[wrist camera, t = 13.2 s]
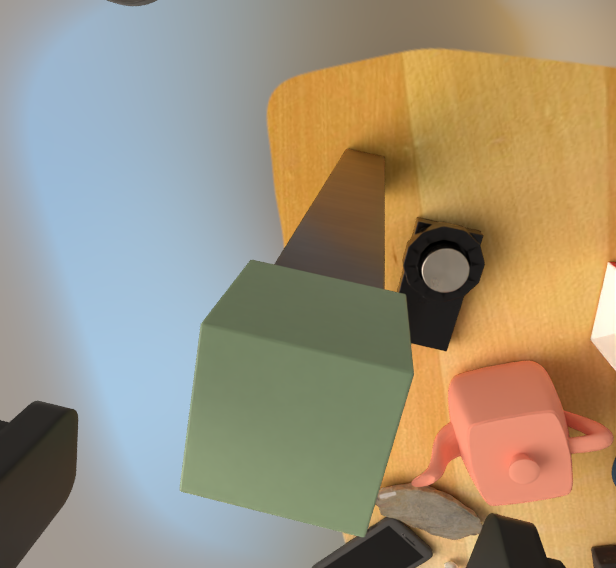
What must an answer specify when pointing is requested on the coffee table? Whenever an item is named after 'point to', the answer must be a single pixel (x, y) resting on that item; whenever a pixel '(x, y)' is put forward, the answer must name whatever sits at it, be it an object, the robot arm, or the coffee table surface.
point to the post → (344, 224)
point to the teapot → (512, 434)
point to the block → (298, 396)
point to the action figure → (450, 565)
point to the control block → (425, 301)
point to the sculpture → (604, 556)
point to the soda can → (614, 472)
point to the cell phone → (381, 549)
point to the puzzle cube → (606, 317)
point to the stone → (428, 510)
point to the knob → (444, 267)
